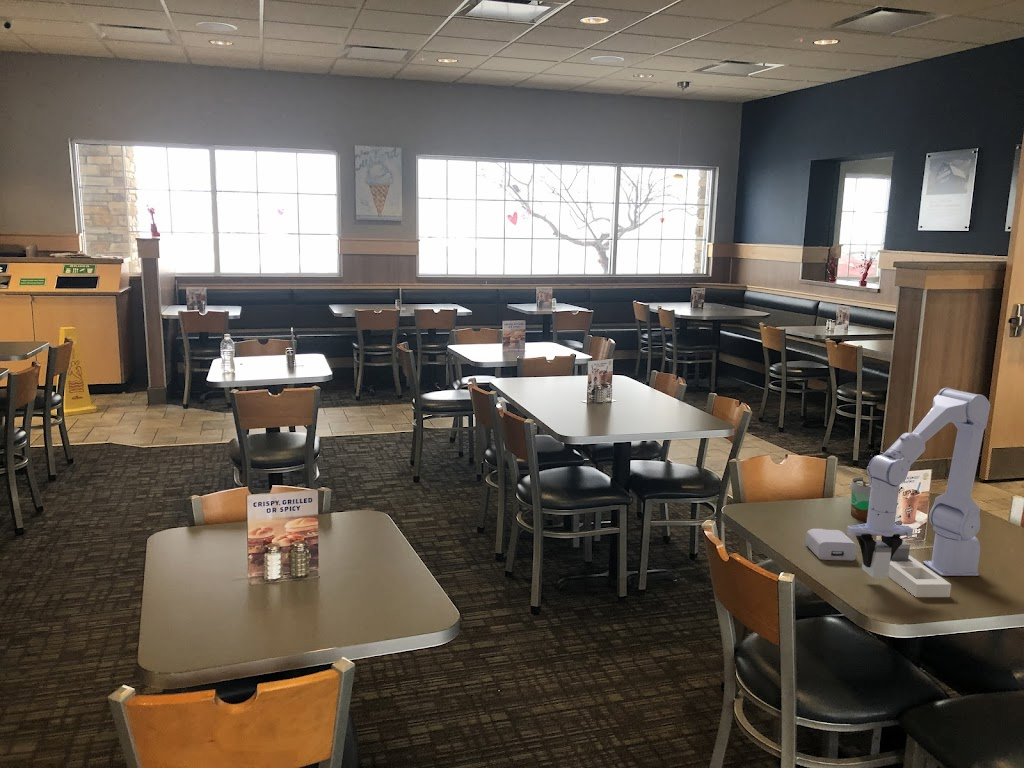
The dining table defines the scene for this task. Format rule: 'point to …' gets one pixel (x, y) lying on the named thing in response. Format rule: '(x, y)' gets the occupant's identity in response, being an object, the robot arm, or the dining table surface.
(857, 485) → the food container
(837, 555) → the charger
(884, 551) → the grey plug
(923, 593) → the power strip
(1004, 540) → the dining table surface
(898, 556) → the charcoal plug
